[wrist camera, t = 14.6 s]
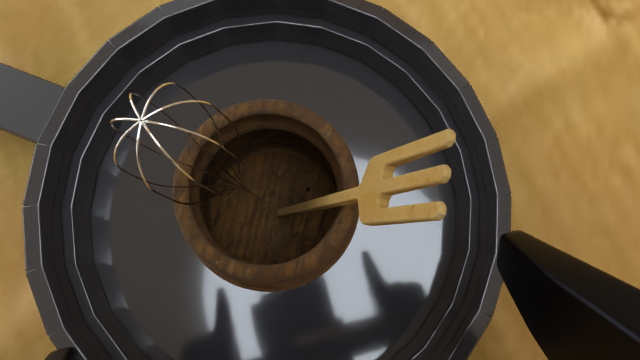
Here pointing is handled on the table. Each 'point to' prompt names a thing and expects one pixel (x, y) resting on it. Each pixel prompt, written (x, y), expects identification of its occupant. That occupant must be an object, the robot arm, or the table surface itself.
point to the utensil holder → (282, 190)
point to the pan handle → (25, 102)
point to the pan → (159, 215)
